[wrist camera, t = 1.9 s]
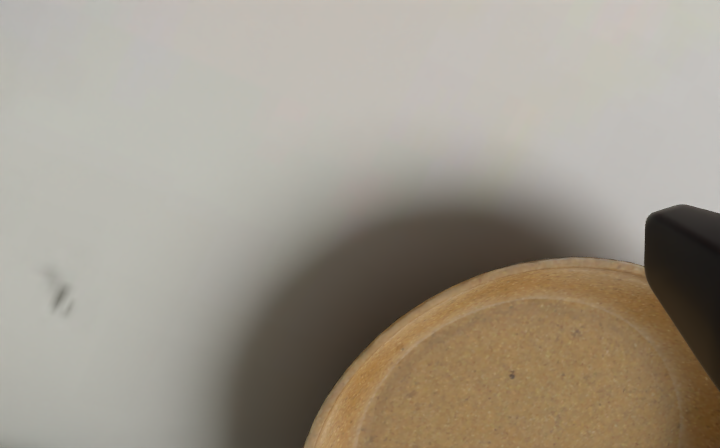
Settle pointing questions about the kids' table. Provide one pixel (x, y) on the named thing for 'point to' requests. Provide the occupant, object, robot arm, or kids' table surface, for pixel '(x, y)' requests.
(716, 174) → the kids' table surface
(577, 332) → the plant saucer
